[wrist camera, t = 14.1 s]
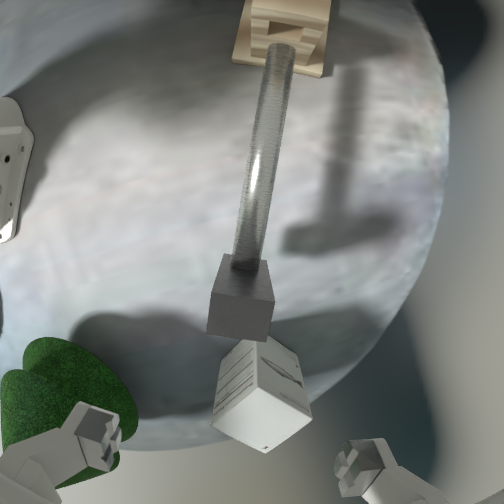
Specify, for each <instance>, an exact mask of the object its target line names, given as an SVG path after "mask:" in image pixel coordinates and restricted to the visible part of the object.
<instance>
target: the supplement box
mask: <svg viewBox="0 0 504 504" xmlns="http://www.w3.org/2000/svg"><path fill="white" fill-rule="evenodd" d="M311 420H312V414H311V410H310V406H309V402H308V398H307V393H306V389H305V385H304V381H303V377H302V373H301V369H300V365H299V361H298V357H297V355H296V354H295V353H293V352H292V351H290V350H289V349H287V348H286V347H284V346H283V345H281V344H280V343H278V342H277V341H276V340H274V339H273V338H272V337H270V336H269V335H268V337H267V342H258V341H251V340H244V339H242V340H241V341H240V342H239V343H238V344H237V345H236V346H235V347H234V348H233V349H232V350H231V351H230V352H229V353H228V354H227V355H226V356H225V357H224V358H223V359H222V360H221V365H220V370H219V376H218V382H217V388H216V395H215V401H214V408H213V414H212V419H211V424H210V425H211V426H212V427H213V428H215V429H217V430H219V431H221V432H223V433H225V434H227V435H228V436H230V437H232V438H234V439H236V440H238V441H240V442H242V443H244V444H246V445H248V446H250V447H253V448H255V449H257V450H259V451H261V452H263V453H267V452H268V451H270V450H271V449H273V448H275V447H276V446H277V445H279V444H280V443H282V442H283V441H284V440H286V439H287V438H289V437H290V436H291V435H293V434H294V433H296V432H297V431H298V430H299V429H301V428H302V427H304V426H305V425H306V424H307V423H309V422H310V421H311Z"/></svg>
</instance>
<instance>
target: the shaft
mask: <svg viewBox="0 0 504 504" xmlns="http://www.w3.org/2000/svg"><path fill="white" fill-rule="evenodd" d="M295 57H296V49H295V48H294V47H292V46H290V45H287V44H283V43H273V44H270V45H269V46H268V51H267V56H266V61H265V66H264V72H263V77H262V82H261V88H260V93H259V99H258V104H257V110H256V115H255V121H254V126H253V132H252V138H251V143H250V149H249V155H248V161H247V167H246V172H245V178H244V184H243V190H242V196H241V202H240V208H239V215H238V221H237V227H236V233H235V239H234V246H233V252H232V255H230V254H224V255H223V258H222V261H221V264H220V267H219V270H218V273H217V277H216V280H215V283H214V286H213V289H212V292H211V299H210V307H209V315H208V323H207V331H206V334H211V335H217V336H224V337H230V338H237V339H244V340H251V341H258V342H267V337H268V333H269V328H270V323H271V319H272V314H273V309H274V305H275V299H274V294H273V289H272V284H271V280H270V275H269V270H268V265H267V261H266V260H261V255H262V249H263V244H264V238H265V232H266V227H267V221H268V215H269V210H270V204H271V198H272V193H273V187H274V181H275V176H276V170H277V164H278V158H279V152H280V147H281V141H282V135H283V129H284V123H285V117H286V111H287V105H288V99H289V93H290V87H291V81H292V75H293V69H294V63H295Z"/></svg>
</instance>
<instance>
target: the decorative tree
mask: <svg viewBox="0 0 504 504" xmlns="http://www.w3.org/2000/svg"><path fill="white" fill-rule="evenodd" d="M80 401H81V402H84V403H86V404H89V405H92V406H95V407H98V408H101V409H104V410H107V411H110V412H113V413H116V414H118V415H119V420H120V421H119V423H118V426H119V427H120V428H121V433H122V434H121V442H123V441H126V440H128V439H129V438H130V437H132V436H133V435H134V433H135V432H136V430H137V427H138V412H137V408H136V405H135V403H134V400H133V398H132V396H131V395H130V393H129V391H128V390H127V388H126V387H125V385H124V384H123V383H122V381H121V380H120V379H119V378H118V377H117V376H116V374H115V373H114V372H113V371H112V370H111V369H110V368H109V367H108V366H106V365H105V364H104V363H103V362H102V361H101V360H100V359H98V358H97V357H95V356H94V355H93V354H91V353H90V352H88V351H87V350H85V349H83V348H82V347H80V346H78V345H76V344H74V343H71V342H69V341H66V340H63V339H59V338H54V337H43V338H38V339H36V340H34V341H32V342H31V343H30V344H29V345H28V346H27V348H26V349H25V352H24V355H23V370H21V369H15V370H11V371H8V372H7V373H6V374H5V375H4V376H3V378H2V381H1V432H2V446H3V453H4V451H5V450H6V449H7V447H8V446H9V445H12V444H15V443H18V442H20V441H23V440H26V439H28V438H31V437H34V436H36V435H39V434H42V433H44V432H47V431H49V430H52V429H54V428H59V429H60V428H61V427H62V425H63V424H64V422H65V421H66V419H67V418H68V416H69V414H70V413H71V411H72V410H73V408H74V407H75V405H76V404H77V403H78V402H80ZM113 457H114V461H113V464H112V466H111V469H110V471H109V472H111V471H113V470H114V469H115V468H116V467H117V466H118V464H119V461H120V455H119V450H118V451H117V452H115V453H113ZM105 473H108V472H105V471H102V470H99V469H96V468H93V467H90V466H87V467H86V468H85V469H83V470H82V471H80V472H78V473H77V474H75V475H74V476H72V477H70V478H69V479H67V480H66V481H64V482H62V483H61V484H59V485H57V486H56V487H54V488H55V489H59V488H62V487H66V486H69V485H72V484H76V483H79V482H82V481H85V480H88V479H91V478H94V477H97V476H100V475H102V474H105Z"/></svg>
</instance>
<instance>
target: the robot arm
mask: <svg viewBox="0 0 504 504" xmlns="http://www.w3.org/2000/svg"><path fill="white" fill-rule="evenodd" d="M33 142H34V136H33V134H32V132H31V131H30V130H29V128H28V127H27V126H26V125H25V123H24V119H23V115H22V112H21V109H20V107H19V105H18V104H17V102H16V101H15V100H13V99H12V98H9V97H1V98H0V243H5V242H7V241H9V240H11V239H12V238H13V237H14V236H15V232H16V224H17V217H18V211H19V205H20V199H21V193H22V188H23V183H24V179H25V174H26V170H27V165H28V161H29V157H30V154H31V150H32V146H33ZM119 421H120V420H119V415H118V414H116V413H113V412H110V411H107V410H104V409H101V408H98V407H95V406H92V405H89V404H86V403H84V402H81V401H80V402H78V403H77V404H76V405H75V407H74V408H73V410H72V411H71V413H70V414H69V416H68V418H67V419H66V421H65V422H64V424H63V425H62V427H61V428H60V429H59V428H54V429H52V430H49V431H47V432H44V433H42V434H39V435H36V436H34V437H31V438H28V439H26V440H23V441H20V442H18V443H15V444H12V445H9V446H8V447H7V449H6V450H5V451H4V453H3V454H2V456H1V457H0V504H61V502H62V500H61V498H60V496H59V494H58V493H57V491H56V490H55V488H54V487H56V486H57V485H59V484H61V483H62V482H64V481H66V480H67V479H69V478H70V477H72V476H74V475H75V474H77V473H78V472H80V471H82V470H83V469H85V468H86V467H87V466H90V467H93V468H96V469H99V470H102V471H105V472H109V471H110V469H111V466H112V464H113V461H114V457H113V453H115V452H117V451H118V449H119V447H120V443H121V434H122V433H121V428H120V427H119V426H118V423H119ZM342 448H343V452H341V453H339V454H338V456H337V458H336V460H335V465H334V468H335V474H336V476H337V477H338V478H339V479H341V481H340V482H339V484H338V485H339V488H340V492H341V496H342V497H351V496H360V495H362V497H363V498H364V499H365V500H366V501H367V502H369V504H448V502H447V500H446V498H445V497H444V494H443V493H442V492H441V491H440V490H438V489H436V488H435V487H433V486H432V485H430V484H428V483H426V482H425V481H423V480H422V479H420V478H419V477H417V476H415V475H414V474H412V473H411V472H409V471H408V470H406V469H405V468H403V467H401V466H400V467H398V465H397V463H396V461H395V459H394V457H393V455H392V453H391V451H390V449H389V447H388V445H387V443H386V441H385V439H383V438H380V439H379V438H378V439H365V440H352V441H347V442H345V443H344V445H343V447H342ZM476 504H504V489H502V490H501V491H499V492H497V493H495V494H493V495H491V496H490V497H488V498H486V499H484V500H482V501H480V502H478V503H476Z"/></svg>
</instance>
